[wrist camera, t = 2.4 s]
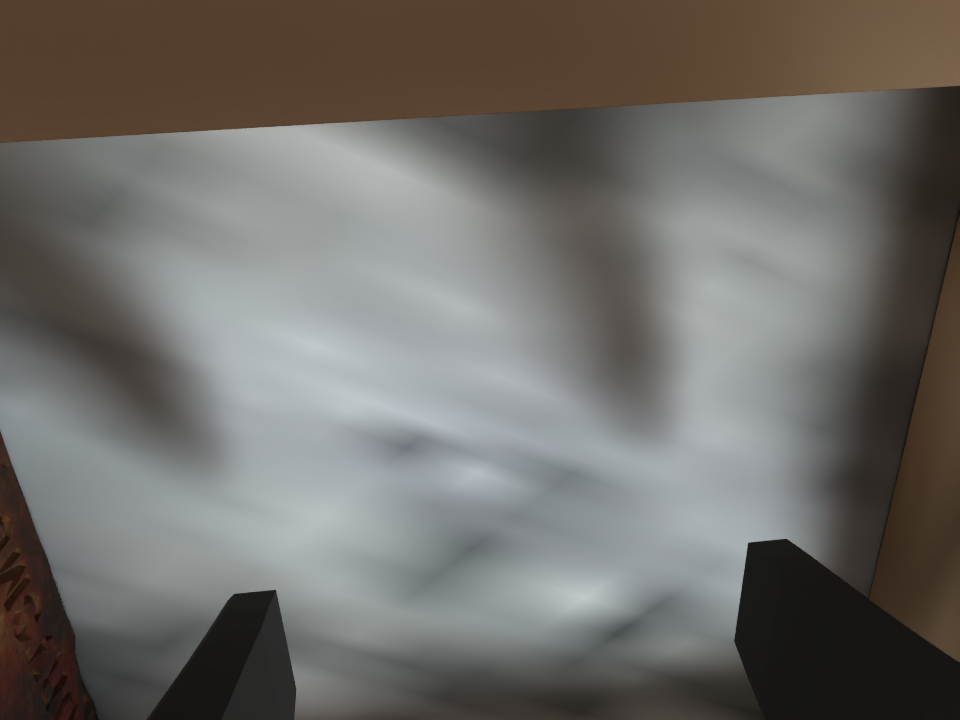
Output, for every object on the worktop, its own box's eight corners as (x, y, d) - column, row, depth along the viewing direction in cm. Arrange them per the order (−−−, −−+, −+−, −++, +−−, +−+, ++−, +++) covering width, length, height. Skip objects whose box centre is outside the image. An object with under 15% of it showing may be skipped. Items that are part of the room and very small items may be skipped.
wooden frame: (874, 768, 18) (978, 934, 15) (-61, 886, 17) (-172, 1100, 13) (1099, -46, 11) (1405, -67, 7) (-569, 33, 9) (-1098, 48, 6)
